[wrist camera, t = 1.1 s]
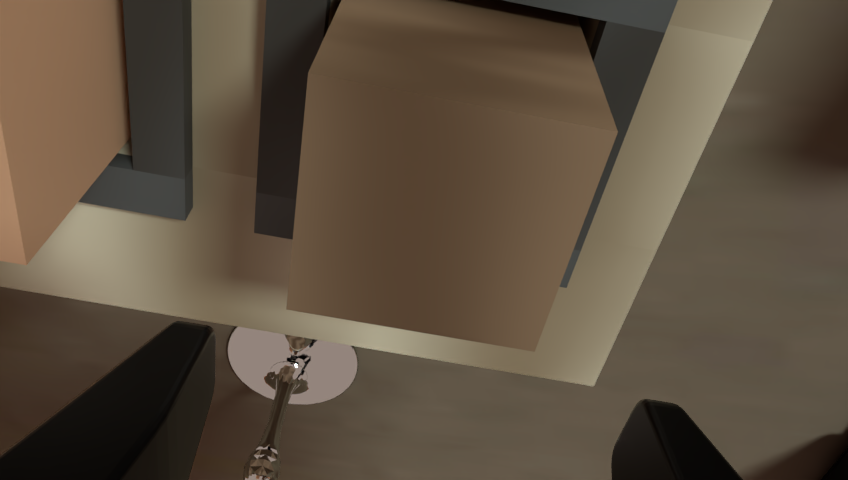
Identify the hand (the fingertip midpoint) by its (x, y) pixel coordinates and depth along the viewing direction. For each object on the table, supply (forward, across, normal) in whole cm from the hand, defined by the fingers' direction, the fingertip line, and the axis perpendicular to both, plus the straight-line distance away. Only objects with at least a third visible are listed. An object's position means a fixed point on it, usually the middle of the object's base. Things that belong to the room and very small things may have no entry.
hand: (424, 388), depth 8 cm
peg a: (+8, 0, 0) cm, 8 cm away
